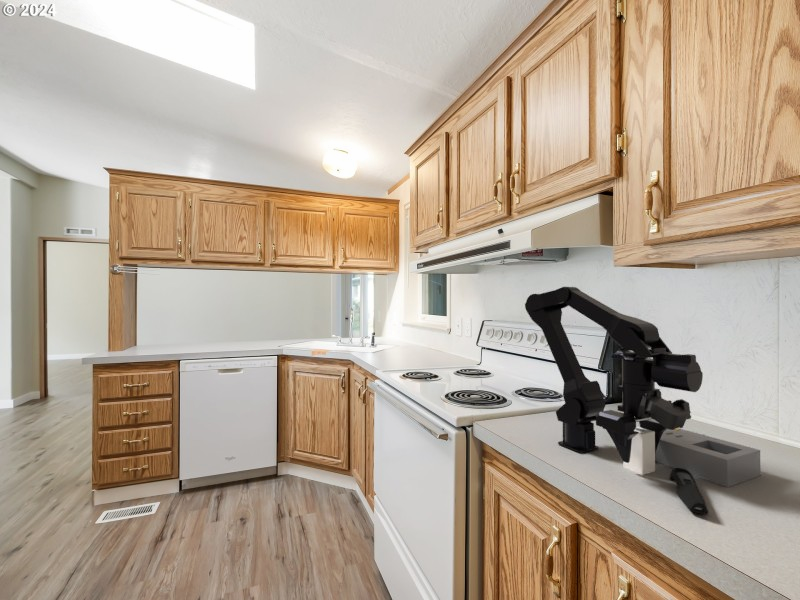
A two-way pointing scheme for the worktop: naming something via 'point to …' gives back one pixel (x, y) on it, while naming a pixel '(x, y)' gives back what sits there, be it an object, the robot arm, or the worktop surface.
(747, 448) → the block
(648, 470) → the block
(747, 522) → the worktop surface
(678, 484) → the electric trimmer
